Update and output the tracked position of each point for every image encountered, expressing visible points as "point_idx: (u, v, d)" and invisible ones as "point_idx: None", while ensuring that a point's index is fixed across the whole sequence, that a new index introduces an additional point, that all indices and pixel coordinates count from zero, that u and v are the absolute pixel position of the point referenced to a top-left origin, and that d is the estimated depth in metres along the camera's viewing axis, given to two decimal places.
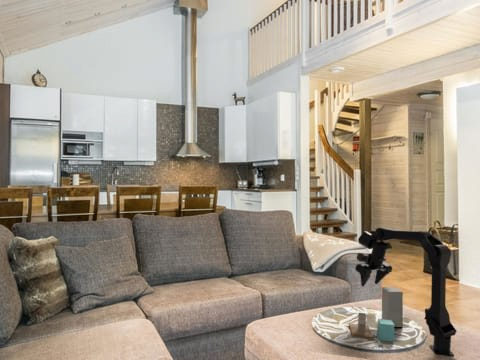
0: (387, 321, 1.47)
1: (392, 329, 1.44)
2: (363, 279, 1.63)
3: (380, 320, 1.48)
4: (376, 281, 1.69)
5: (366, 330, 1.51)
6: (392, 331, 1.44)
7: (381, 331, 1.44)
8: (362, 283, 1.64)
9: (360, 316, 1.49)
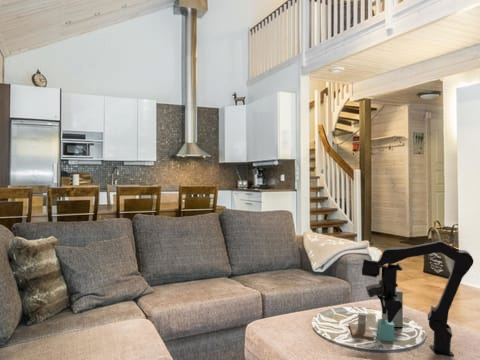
0: (387, 321, 1.47)
1: (392, 329, 1.44)
2: (391, 314, 1.41)
3: (380, 320, 1.48)
4: (384, 310, 1.51)
5: (366, 330, 1.51)
6: (392, 331, 1.44)
7: (381, 331, 1.44)
8: (390, 319, 1.41)
9: (360, 316, 1.49)
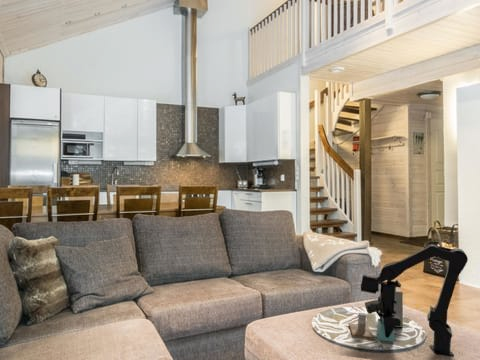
0: None
1: None
2: (389, 329, 1.43)
3: (380, 320, 1.48)
4: None
5: (366, 330, 1.51)
6: (392, 331, 1.44)
7: (381, 331, 1.44)
8: (387, 334, 1.43)
9: (360, 316, 1.49)
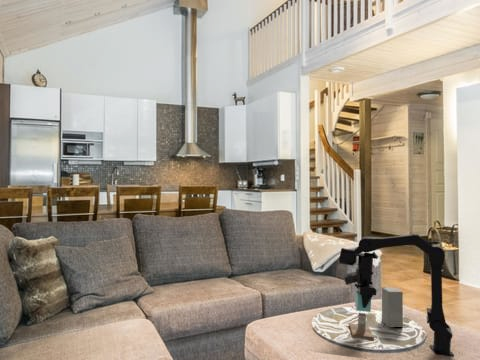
0: None
1: None
2: (366, 299, 1.46)
3: None
4: None
5: (366, 330, 1.51)
6: (369, 301, 1.47)
7: (358, 302, 1.48)
8: (364, 304, 1.47)
9: (360, 316, 1.49)
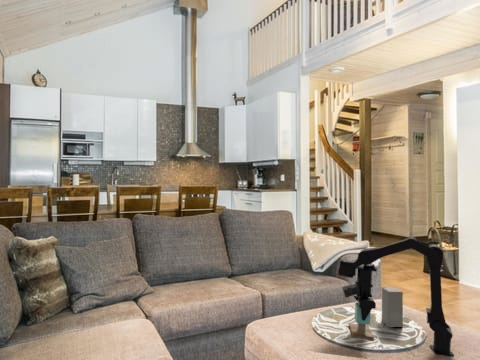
0: None
1: None
2: (365, 312, 1.46)
3: (357, 304, 1.51)
4: None
5: (366, 330, 1.51)
6: (368, 314, 1.47)
7: (358, 314, 1.48)
8: (364, 317, 1.47)
9: None
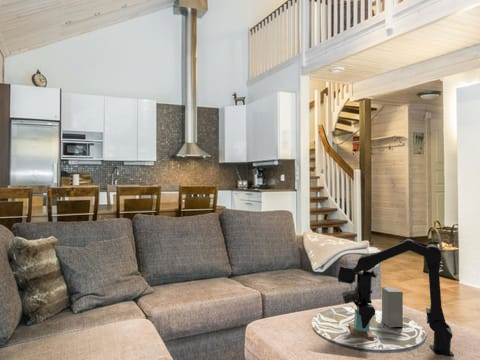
0: None
1: None
2: (366, 320, 1.44)
3: (357, 311, 1.51)
4: None
5: None
6: None
7: (357, 321, 1.48)
8: (364, 325, 1.45)
9: None
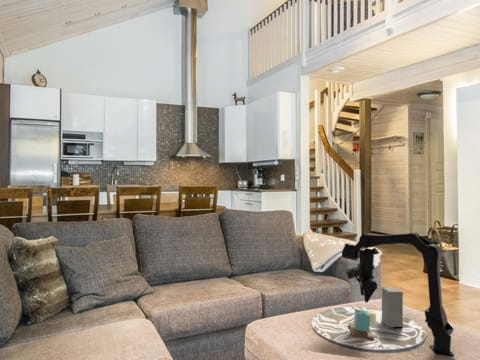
0: (363, 312, 1.51)
1: (368, 319, 1.47)
2: (368, 294, 1.52)
3: (357, 311, 1.51)
4: (362, 292, 1.62)
5: None
6: (368, 321, 1.47)
7: (357, 321, 1.48)
8: (366, 299, 1.52)
9: None
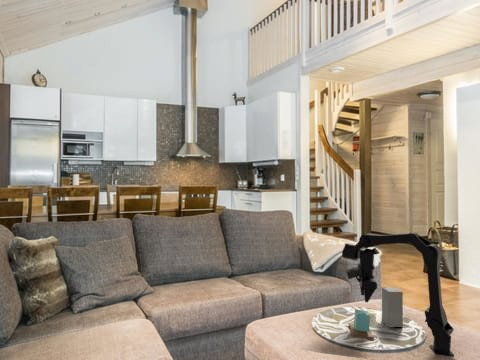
0: (363, 312, 1.51)
1: (368, 319, 1.47)
2: (368, 294, 1.52)
3: (357, 311, 1.51)
4: (363, 292, 1.62)
5: None
6: (368, 321, 1.47)
7: (357, 321, 1.48)
8: (367, 299, 1.52)
9: None
